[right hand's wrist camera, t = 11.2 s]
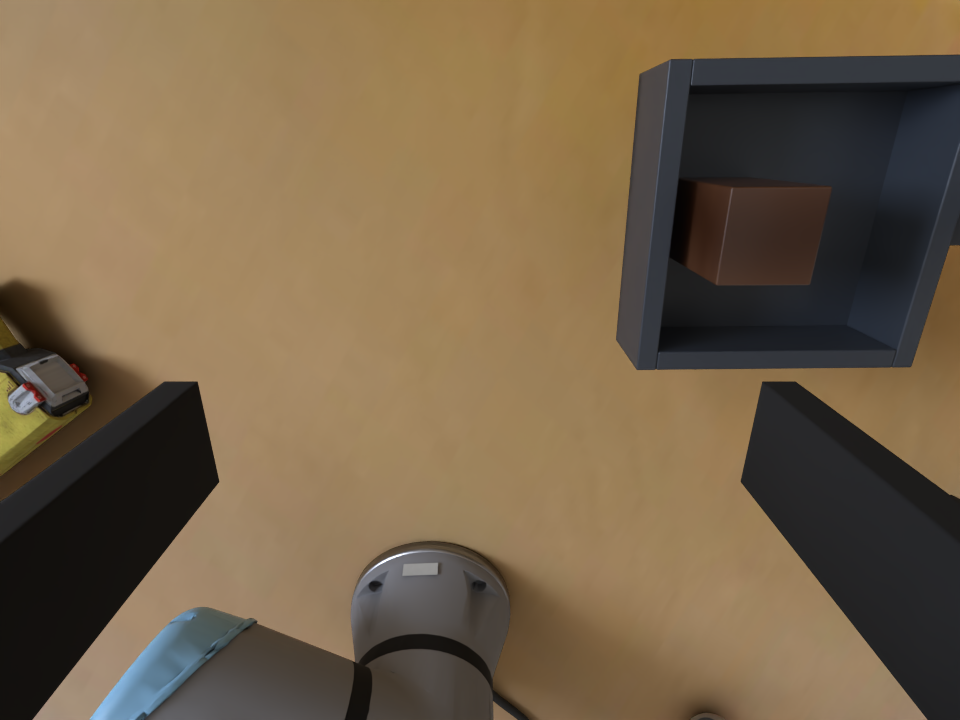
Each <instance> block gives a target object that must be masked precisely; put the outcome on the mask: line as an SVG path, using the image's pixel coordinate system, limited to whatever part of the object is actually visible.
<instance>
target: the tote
mask: <svg viewBox="0 0 960 720" xmlns="http://www.w3.org/2000/svg"><path fill="white" fill-rule="evenodd" d="M693 177H753V178H762V179H771V180H780V181H789V182H798V183H807V184H816V185H825V186H831V187H832V192H831V196H830V201H829V205H828V209H827V214H826V218H825V222H824V226H823V231H822V235H821V239H820V244H819V248H818V252H817V257H816V261H815V265H814V270H813V274H812V278H811V283H810V285H742V286H717V285H715V284H713V283H711V282H710V281H708V280H706V279H705V278H703V277H701V276H700V275H698V274H696V273H695V272H693V271H691V270H690V269H688V268H686V267H684V266H683V265H681V264H679V263H678V262H676V261H674V260H673V259H671V258H669V255H670V247H671V239H672V231H673V222H674V214H675V206H676V198H677V189H678V181H679V178H693ZM950 245H960V55H910V56H847V57H784V58H720V59H693V60H692V59H671V60H669V61H666V62H664V63H662V64H660V65H658V66H656V67H654V68H652V69H649V70H647V71H645V72H643V73H641V74H640V75H639V87H638V98H637V109H636V120H635V132H634V143H633V154H632V166H631V177H630V188H629V199H628V211H627V222H626V233H625V245H624V256H623V267H622V278H621V290H620V301H619V312H618V324H617V335H616V340H617V342H618V343H619V345H620V346H621V348H622V349H623V350H624V352H625V353H626V355H627V356H628V358H629V359H630V361H631V362H632V363H633V365H634V366H635V368H636V369H637V370H655V369H657V370H667V369H772V368H878V367H911V366H912V363H913V360H914V356H915V353H916V350H917V347H918V344H919V341H920V338H921V334H922V331H923V328H924V325H925V322H926V319H927V315H928V312H929V309H930V306H931V303H932V300H933V297H934V293H935V290H936V287H937V284H938V281H939V278H940V275H941V271H942V268H943V265H944V262H945V259H946V256H947V252H948V249H949V246H950Z"/></svg>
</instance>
